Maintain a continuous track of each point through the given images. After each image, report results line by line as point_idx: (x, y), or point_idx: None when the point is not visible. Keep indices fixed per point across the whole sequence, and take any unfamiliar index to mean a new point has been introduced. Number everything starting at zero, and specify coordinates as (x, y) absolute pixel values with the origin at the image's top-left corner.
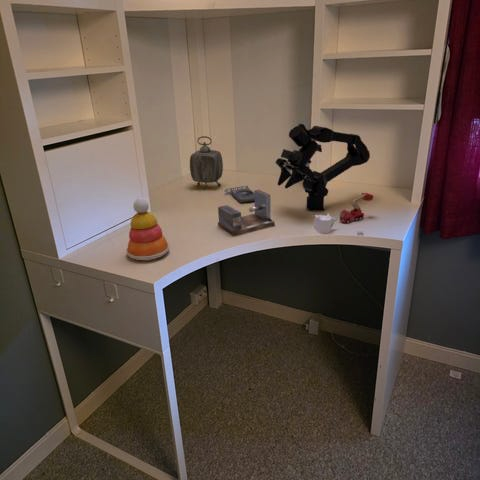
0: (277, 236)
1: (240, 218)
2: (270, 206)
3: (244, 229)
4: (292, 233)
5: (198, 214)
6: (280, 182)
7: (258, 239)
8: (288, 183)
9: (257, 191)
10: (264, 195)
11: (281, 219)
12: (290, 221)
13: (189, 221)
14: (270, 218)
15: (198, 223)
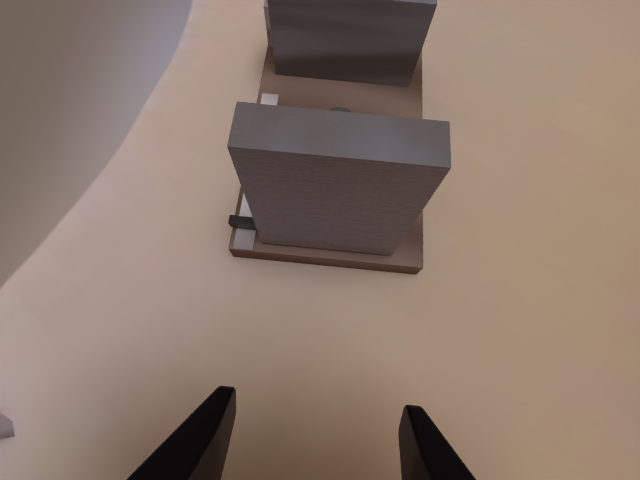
0: (119, 176)
1: (265, 14)
2: (248, 204)
3: (263, 81)
4: (79, 256)
5: (608, 77)
6: (410, 463)
7: (166, 99)
8: (166, 444)
9: (403, 124)
10: (263, 106)
11: (278, 356)
12: (211, 378)
13: (538, 16)
14: (260, 239)
15: (495, 28)
